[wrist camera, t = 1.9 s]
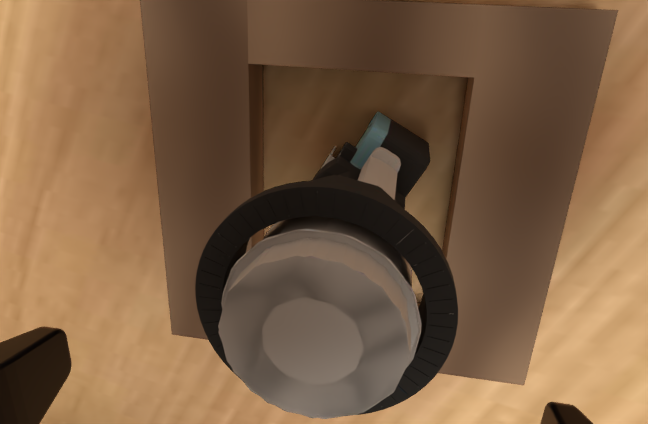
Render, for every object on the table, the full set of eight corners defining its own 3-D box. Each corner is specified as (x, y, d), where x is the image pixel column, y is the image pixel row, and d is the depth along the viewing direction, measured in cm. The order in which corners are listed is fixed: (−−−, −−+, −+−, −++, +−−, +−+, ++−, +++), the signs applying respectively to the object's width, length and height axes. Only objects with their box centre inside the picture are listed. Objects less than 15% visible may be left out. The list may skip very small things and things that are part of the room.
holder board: (188, 312, 22) (171, 334, 20) (163, -8, 17) (139, -10, 15) (516, 357, 20) (524, 385, 18) (597, 10, 15) (618, 10, 13)
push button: (366, 289, 20) (325, 525, 11) (253, 220, 20) (112, 402, 10) (468, 155, 17) (530, 319, 8) (339, 73, 17) (250, 145, 8)
